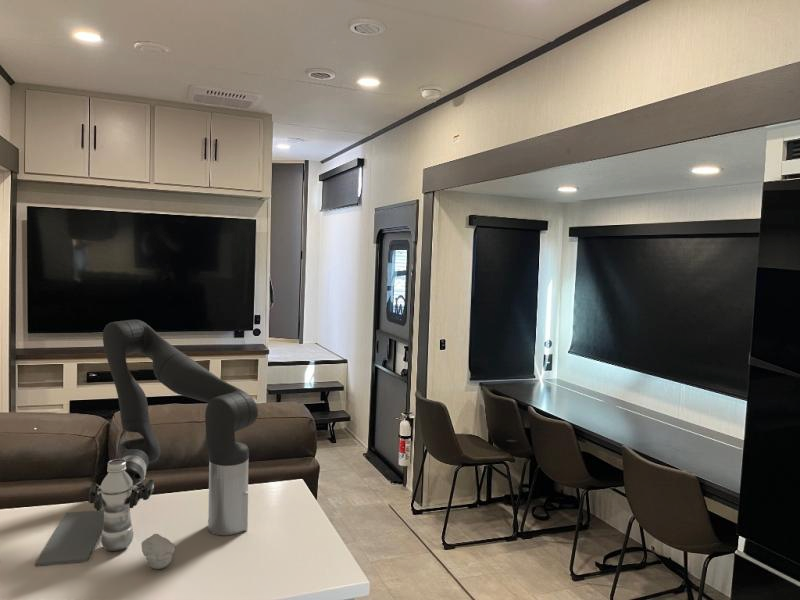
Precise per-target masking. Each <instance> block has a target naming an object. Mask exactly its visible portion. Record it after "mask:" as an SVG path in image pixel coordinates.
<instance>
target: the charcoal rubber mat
mask: <svg viewBox="0 0 800 600" xmlns="http://www.w3.org/2000/svg"><path fill="white" fill-rule="evenodd" d="M103 523H104V509H100V510H89V511H74V512H72V511H70V512H65V515H64V516H63V518H62V519H61V521H60V522H59V524H58V526H57V528H56V529H55V530H54V532H53V533H52V535H51V537H50V538H49V541H48V542H47V543H46V545H45V547H44V548H43V550H42V552H41V553H40V554H39V557H38V558H37V560H36V561H35V563H34V566H35V567H39V566H51V565H64V564H73V563H86V562H88V560H89V559H90V556H91V555H92V552H93V550H94V548H95V546H96V544H97V541H98V539H99V537H100V535H101V534H102V530H103Z"/></svg>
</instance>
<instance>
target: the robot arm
mask: <svg viewBox="0 0 800 600" xmlns="http://www.w3.org/2000/svg"><path fill="white" fill-rule="evenodd" d="M102 344H103V349H104V352H105V356H106V359H107V362H108V363H107V364H108V366H109V369H110V374H111V377H112V380H113V382H114V386H115V389H116V393H117V394H116V395H117V398H118V405H119V406H118V407H119V414H120V421H121V428H122V430H123V432H127V433H136V434H137V433H138V434H140V435H141V436H142V437H141V438H135V439H129V440H125V441H123V442H122V443H120V445H119V446H118V449H117V455H118V456H117V457H118V459H124V460H126V470H125V472H126V473H127V474H128V475H129V476H130V478H131V479H132V482H133V484H132V493H131V497H130V500H129V508H130V509H134V507H135V506H137V505H138V503H139V502H140V500H143V501H147V500H149V498H150V497H151V496H152V494H153V492H154V491H155V479H149V480H148V481H145V482H144V480H145V479H146V473H147V469H148V467H149V465H150V464H153V463H156V462H157V461H158V459H159V458H160V456H161V447H160V444H159V441H158V439H157V437H156V435H155V432H154V430H153V427H152V424H151V421H150V413H149V404H148V399H147V396H146V393H145V392H144V390H143V388H142V387H141V386H140V384H139V383H138V382H137V381H136V379H135V378H134V376H133V375H132V374H131V371H130V370H129V367H128V364H127V355H132V354H137V353H138V354H142V355H144V356H145V357H147V358H149V359H150V360H151V361H152V370H153V374H154V377H155V378H156V380H158V382H160V383H161V384H162V385H163V386H165V387H166V388H167V389H169V390H170V391H172V392H173V393H175V394H177V395H180V396H183V397H186V398H189V399H194V400H198V401H201V402H205V403H207V405H206V407H205V414H204V415H205V416H204V418H205V419H204V422H205V423H204V424H205V443H206V444H205V445H206V449H207V452H208V456H209V457H208V463H209V464H208V469H209V470H208V519H207V523H208V525H207V527H208V528H207V529H208V532H210V533H211V534H214V535H217V536H232V535H235V534H238V533H239V534H240V533H241V532H244V531H245V532H246V531H248V524H249V523H248V521H249V519H248V518H249V517H248V516H249V513H248V512H249V460H250V459H249V455H250V451H249V447H248V445H247V444H245V443H243V442H240V441H236V433H235V432H237V431H240V430H241V431H242V430H244V429H247V428H248V427H250V426H251V425H254V424H255V422H256V421H257V420H258V419H257V418H258V416H259V409H258V405H257V404H256V402H255V400H254V398H253V397H252V396H251V395H250V394H248V393H247V392H246V391H244V390H242V389H241V388H239V387H236V386H234V385H232V384H231V383H228V382H227V381H225V380H223V379H221V378H220V377H218V376H217V375H215V374H214V373H212V372H211V371H209V370H208V369H207V368H205V367H203V366H202V365H201V364H199V363H197V362H196V361H195V360H194V359H192V358H191V357H190V356H188V355H187V354H186V353H184V352H182V351H180V350H179V349H177V348H176V347H175V346H174V345H172V344H171V343H170V342H168V341H167V340H166V339H164V338H163V337H162V336H160V334H159V333H158V332H157V331H155V330H154V329H153V328H152V327H151V325H149V324H147V322H144V321H142V320H141V319H128V320H127V319H126V320H120V321H113V322H111V321H110V322H109V323H107V324H106V325H105V327H104V329H103V331H102ZM88 499H89V500H88V504H93V508H94V509H95V511H99V510H102V507H103V500H102V494H101V485H99V484H98V483H97V482H93V483H91V484H90V488H89V492H88Z"/></svg>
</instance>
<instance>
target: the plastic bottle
mask: <svg viewBox="0 0 800 600" xmlns="http://www.w3.org/2000/svg"><path fill="white" fill-rule="evenodd" d="M106 469H107V470H106V471H107V474H106V475H105V477H104V478H103V480H102V482H101V484H100V486H101V494H102V500H103V505H102V507H103V510H104V523H103V529H102V531H101V537H100V541H101V545H102V547H103V548H104V549H105V550H106V551H108V552H110V551H111V552H116V551H121V550H124V549H126V548H128V547H129V546H130V545H131V543H132V542H133V539H134V528H133V524H132V519H131V508H129V500H130V497H131V493H132V484H133V482H132V479H131V478H130V476H129V475H128V474H127V473H126V472H125V470H126V460H124V459H119V458H115V459H112V460H109V461H108V462H107V468H106Z"/></svg>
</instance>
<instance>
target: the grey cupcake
mask: <svg viewBox="0 0 800 600" xmlns="http://www.w3.org/2000/svg"><path fill="white" fill-rule="evenodd" d="M175 549H176V546H175V544H174V543H173V542H172V541H170V540H169V539H168V538H166V537H164V536H162V535H161V534H159V533H153V534H152V535H151V536H149V537H146V538H145V539H144V540H143V541H142V542H141V552H142V554H143V556H144V557H145V559H146V561H147V564H148V565H149V566H150V567H151V568H153V569H154V570H162V569H164V568H166V567H167V566H169V564H170V563H171V562H172V559H173V554H174V552H175Z"/></svg>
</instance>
